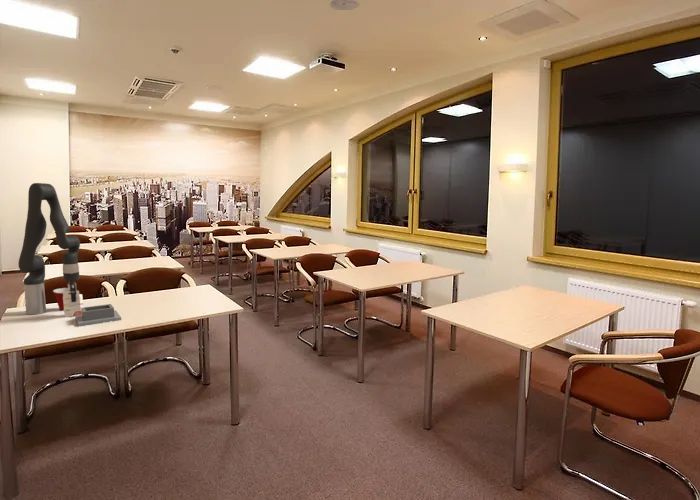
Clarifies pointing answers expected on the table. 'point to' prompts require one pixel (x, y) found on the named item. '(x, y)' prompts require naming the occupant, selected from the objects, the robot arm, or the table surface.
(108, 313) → the dock
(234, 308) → the table surface
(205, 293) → the table surface
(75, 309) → the ink cartridge box
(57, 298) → the plastic cup
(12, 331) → the table surface
